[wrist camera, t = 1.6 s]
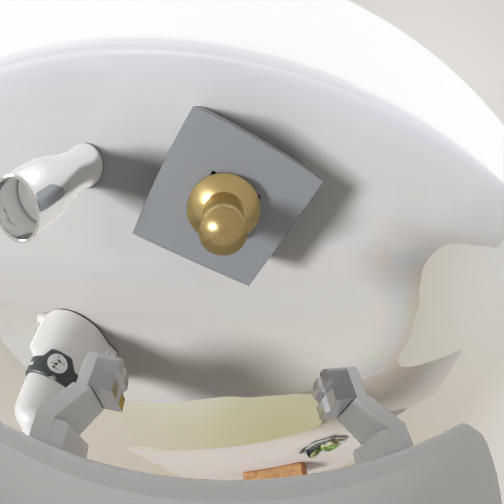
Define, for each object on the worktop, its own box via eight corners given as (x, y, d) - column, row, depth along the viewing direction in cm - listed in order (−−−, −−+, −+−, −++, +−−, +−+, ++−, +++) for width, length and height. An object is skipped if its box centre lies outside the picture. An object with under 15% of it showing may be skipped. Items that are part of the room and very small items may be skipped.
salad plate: (315, 435, 80) (317, 446, 76) (355, 430, 83) (357, 439, 79) (295, 451, 89) (296, 460, 85) (331, 447, 92) (334, 455, 88)
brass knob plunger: (234, 218, 35) (239, 284, 23) (186, 195, 32) (164, 250, 21) (262, 173, 32) (285, 219, 20) (213, 146, 30) (203, 175, 18)
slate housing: (244, 250, 38) (248, 285, 31) (150, 205, 33) (132, 233, 26) (302, 163, 32) (323, 181, 25) (201, 106, 28) (193, 106, 21)
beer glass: (101, 134, 28) (28, 162, 15) (110, 185, 31) (50, 240, 18) (59, 147, 27) (-16, 182, 14) (69, 194, 31) (5, 248, 18)
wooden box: (253, 476, 111) (255, 496, 99) (242, 471, 103) (244, 494, 91) (306, 466, 108) (310, 487, 96) (300, 461, 100) (305, 485, 88)
